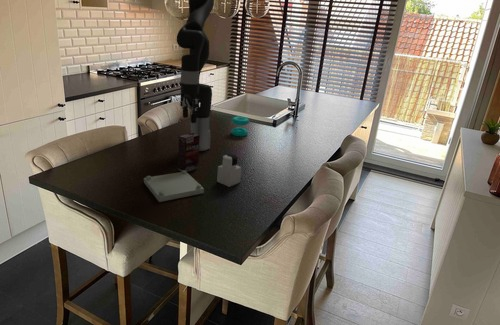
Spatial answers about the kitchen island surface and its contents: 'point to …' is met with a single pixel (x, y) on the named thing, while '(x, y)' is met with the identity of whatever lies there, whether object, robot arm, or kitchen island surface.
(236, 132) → the donuts
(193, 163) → the supplement box
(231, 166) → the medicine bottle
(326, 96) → the kitchen island surface
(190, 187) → the stud plate
